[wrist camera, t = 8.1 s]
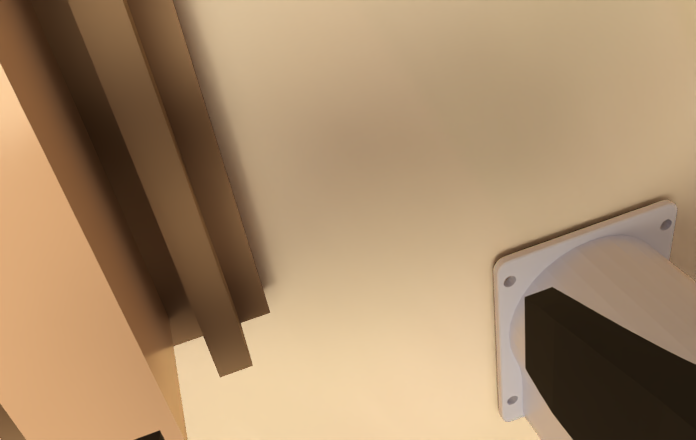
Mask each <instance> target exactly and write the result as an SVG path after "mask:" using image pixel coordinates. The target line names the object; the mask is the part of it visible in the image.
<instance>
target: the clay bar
mask: <svg viewBox="0 0 696 440" xmlns="http://www.w3.org/2000/svg"><path fill="white" fill-rule="evenodd" d="M0 404H1V405H2V407H3V408H4V409H5V411H6V412H7V414H8V415H9V416H10V418H11V419H12V421H13V422H14V423H15V425H16V426H17V428H18V429H19V430H20V432H21V433H22V435H23V436H24V437H25V439H26V440H134V439H137V438H140V437H143V436H145V435H148V434H151V433H154V432H156V431H159V430H160V431H161V433H162V435H163V437H164V439H165V440H187V433H186V427H185V420H184V414H183V407H182V400H181V394H180V387H179V381H178V374H177V368H176V361H175V354H174V348H173V341H172V335H171V328H170V321H169V318H168V315H167V313H166V311H165V308H164V306H163V304H162V302H161V299H160V297H159V295H158V292H157V290H156V288H155V286H154V283H153V281H152V279H151V276H150V274H149V272H148V270H147V267H146V265H145V263H144V260H143V258H142V256H141V254H140V251H139V249H138V247H137V244H136V242H135V240H134V238H133V235H132V233H131V231H130V228H129V226H128V224H127V222H126V219H125V217H124V215H123V212H122V210H121V208H120V206H119V203H118V201H117V199H116V196H115V194H114V192H113V190H112V187H111V185H110V183H109V180H108V178H107V176H106V174H105V171H104V169H103V167H102V164H101V162H100V160H99V158H98V155H97V153H96V151H95V148H94V146H93V144H92V142H91V139H90V137H89V135H88V133H87V130H86V128H85V126H84V123H83V121H82V119H81V117H80V114H79V112H78V110H77V107H76V105H75V103H74V101H73V98H72V96H71V94H70V91H69V89H68V87H67V85H66V82H65V80H64V78H63V75H62V73H61V71H60V69H59V66H58V64H57V62H56V59H55V57H54V55H53V53H52V50H51V48H50V46H49V43H48V41H47V39H46V37H45V34H44V32H43V30H42V27H41V25H40V23H39V21H38V18H37V16H36V14H35V11H34V9H33V7H32V5H31V2H30V0H0Z"/></svg>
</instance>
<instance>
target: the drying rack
mask: <svg viewBox="0 0 696 440" xmlns="http://www.w3.org/2000/svg"><path fill="white" fill-rule="evenodd" d="M30 2H31V5H32V7H33V9H34V11H35V14H36V16H37V18H38V21H39V23H40V25H41V27H42V30H43V32H44V34H45V37H46V39H47V41H48V43H49V46H50V48H51V50H52V53H53V55H54V57H55V59H56V62H57V64H58V66H59V69H60V71H61V73H62V75H63V78H64V80H65V82H66V85H67V87H68V89H69V91H70V94H71V96H72V98H73V101H74V103H75V105H76V107H77V110H78V112H79V114H80V117H81V119H82V121H83V123H84V126H85V128H86V130H87V133H88V135H89V137H90V139H91V142H92V144H93V146H94V148H95V151H96V153H97V155H98V158H99V160H100V162H101V164H102V167H103V169H104V171H105V174H106V176H107V178H108V180H109V183H110V185H111V187H112V190H113V192H114V194H115V196H116V199H117V201H118V203H119V206H120V208H121V210H122V212H123V215H124V217H125V219H126V222H127V224H128V226H129V228H130V231H131V233H132V235H133V238H134V240H135V242H136V244H137V247H138V249H139V251H140V254H141V256H142V258H143V260H144V263H145V265H146V267H147V270H148V272H149V274H150V276H151V279H152V281H153V283H154V286H155V288H156V290H157V292H158V295H159V297H160V299H161V302H162V304H163V306H164V308H165V311H166V313H167V315H168V318H169V321H170V328H171V335H172V341H173V346H175V345H178V344H181V343H184V342H187V341H190V340H193V339H195V338H198V337H201V336H204V339H205V341H206V344H207V346H208V349H209V351H210V354H211V356H212V359H213V361H214V363H215V366H216V368H217V371H218V373H219V376H220V377H222V376H225V375H228V374H231V373H233V372H236V371H239V370H242V369H245V368H247V367H250V366H253V365H252V361H251V358H250V354H249V351H248V347H247V344H246V340H245V337H244V334H243V330H242V327H241V323H242V322H244V321H247V320H250V319H253V318H256V317H259V316H262V315H265V314H267V313H270V310H269V307H268V304H267V301H266V298H265V294H264V291H263V288H262V285H261V282H260V278H259V275H258V272H257V269H256V266H255V262H254V259H253V256H252V253H251V250H250V246H249V243H248V240H247V237H246V234H245V230H244V227H243V224H242V221H241V218H240V214H239V211H238V208H237V205H236V202H235V198H234V195H233V192H232V189H231V186H230V182H229V179H228V176H227V173H226V170H225V166H224V163H223V160H222V157H221V154H220V150H219V147H218V144H217V141H216V138H215V134H214V131H213V128H212V125H211V122H210V118H209V115H208V112H207V109H206V106H205V102H204V99H203V96H202V93H201V90H200V86H199V83H198V80H197V77H196V74H195V70H194V67H193V64H192V61H191V58H190V54H189V51H188V48H187V45H186V42H185V38H184V35H183V32H182V29H181V26H180V22H179V19H178V16H177V13H176V10H175V6H174V3H173V0H30ZM0 438H1V440H26V439H25V437H24V436H23V435H22V433H21V432H20V430H19V429H18V428H17V426H16V425H15V423H14V422H13V421H12V419H11V418H10V416H9V415H8V414H7V412H6V411H5V409H4V408H3V407H2V405H1V404H0Z"/></svg>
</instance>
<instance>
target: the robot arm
mask: <svg viewBox="0 0 696 440" xmlns="http://www.w3.org/2000/svg"><path fill="white" fill-rule="evenodd" d="M676 216H677V206H676V204H674V203H673V202H671V201H670V200H662V201H659V202H656V203H653V204H651V205H648V206H645V207H642V208H639V209H637V210H634V211H631V212H628V213H625V214H622V215H620V216H617V217H614V218H611V219H608V220H605V221H603V222H600V223H597V224H594V225H591V226H589V227H586V228H583V229H580V230H577V231H574V232H572V233H569V234H566V235H563V236H560V237H558V238H555V239H552V240H549V241H546V242H543V243H541V244H538V245H535V246H532V247H529V248H526V249H524V250H521V251H518V252H515V253H512V254H510V255H507V256H504V257H502V258H500V259H499V260H498V261H497V262H496V264H495V266H494V269H493V276H494V300H495V325H496V349H497V374H498V399H499V414H500V416H501V417H502V419H503V420H504V421H507V422H510V421H514V420H516V419H519V418H521V417H524V416H525V418H526V419H527V420H528V422H529V423H530V425H531V426H532V428H533V429H534V430H535V432H536V433H537V435H538V436H539V437H540V439H541V440H696V282H695V281H694V280H693V279H692V278H690V277H689V276H688V275H687V274H685V273H684V272H683V271H681V270H680V269H679V268H678V267H676V266H675V265H674V264H673V263H671V262H670V261H669V259H670V253H671V247H672V241H673V234H674V228H675V222H676ZM509 276H510V277H509ZM508 277H509V278H508ZM506 278H508V279H507V280H505V279H506ZM134 440H165V439H164V437H163V435H162V433H161V431H160V430H159V431H156V432H154V433H151V434H148V435H145V436H143V437H140V438H137V439H134Z"/></svg>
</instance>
